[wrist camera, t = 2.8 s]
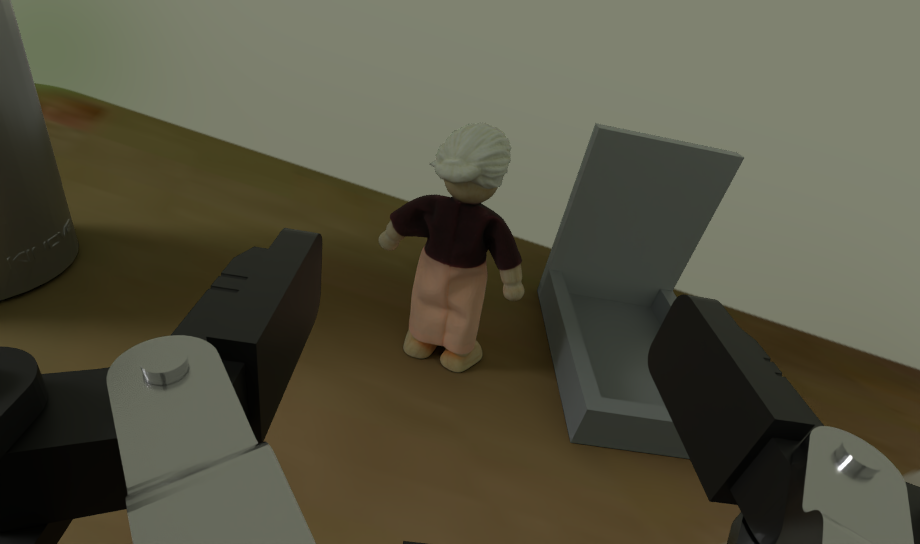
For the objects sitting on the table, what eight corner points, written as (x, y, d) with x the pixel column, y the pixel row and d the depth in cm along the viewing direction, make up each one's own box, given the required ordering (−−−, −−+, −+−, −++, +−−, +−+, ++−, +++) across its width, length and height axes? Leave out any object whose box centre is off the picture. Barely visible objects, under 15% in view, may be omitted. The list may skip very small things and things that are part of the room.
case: (570, 442, 23) (679, 226, 17) (537, 290, 34) (595, 123, 27) (738, 465, 24) (903, 268, 17) (653, 310, 35) (736, 152, 28)
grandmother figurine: (501, 340, 28) (567, 132, 22) (495, 386, 25) (571, 159, 18) (377, 309, 29) (404, 93, 22) (355, 350, 25) (379, 113, 19)
